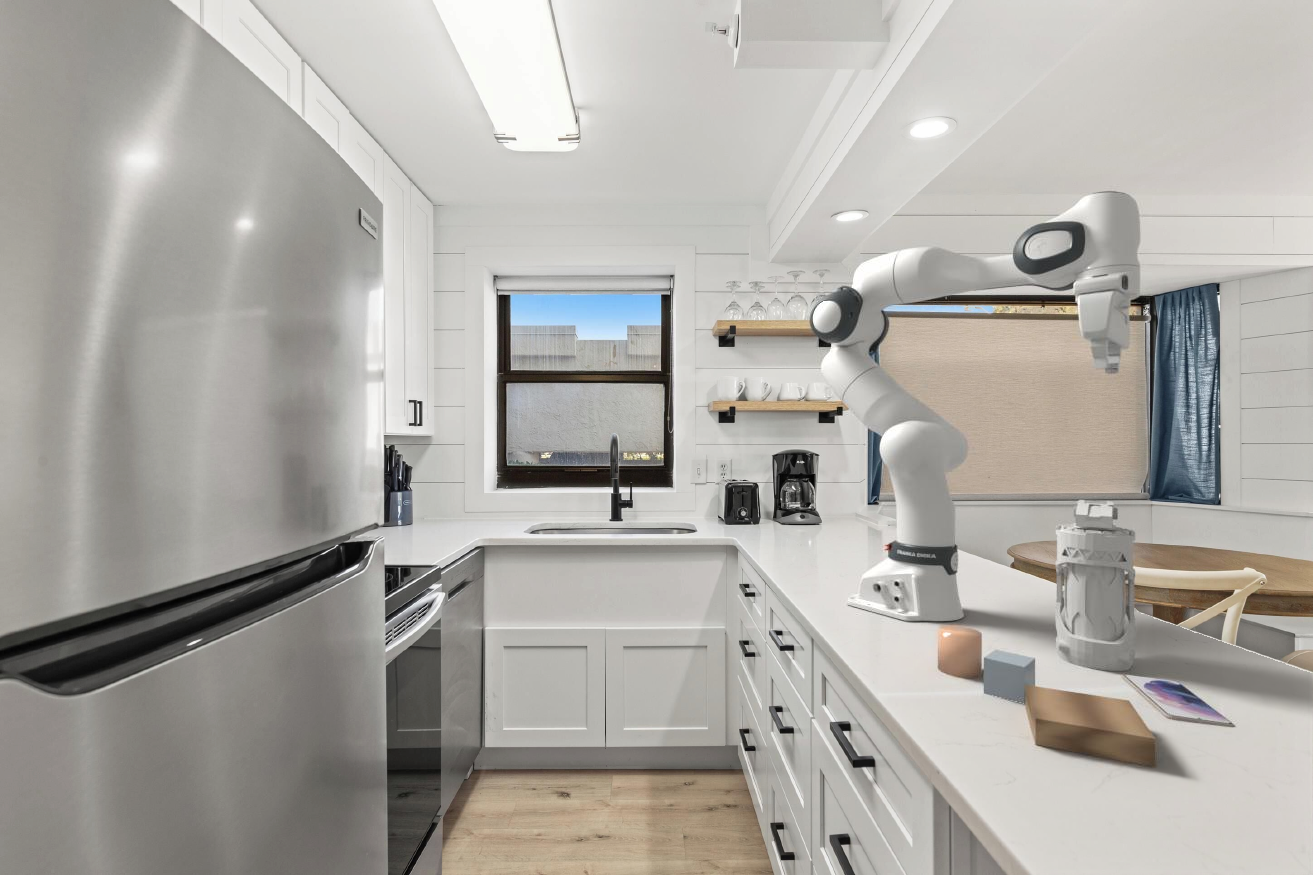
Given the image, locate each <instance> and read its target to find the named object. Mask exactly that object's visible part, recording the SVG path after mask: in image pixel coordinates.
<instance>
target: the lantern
mask: <svg viewBox="0 0 1313 875" xmlns="http://www.w3.org/2000/svg"><path fill="white" fill-rule="evenodd" d="M1090 502H1093V500H1090V499H1089V500H1088V499H1087V500H1086V499H1079V500H1078V501H1077V502H1076V505H1074V507H1073V516H1074V518H1075V522H1074V523H1069V524H1067V523H1066V524H1058V525H1056V526H1055V535H1056V560H1055V569H1056V571H1055V572H1056V573H1055V574H1056V604H1055V629H1056V633H1057V636H1056V637H1055V646H1056V651H1057V654H1058V656H1059V658H1061V659H1062V660H1064V661H1066V662H1068V663H1071V664H1073V665H1077V666H1080V667H1084V668H1089V669H1093V670H1099V671H1107V672H1108V671H1109V672H1123V671H1129V670H1130V669H1132V666H1133V663H1134V661H1135V657H1136V656H1135V654H1136V650H1135V649H1134V648H1133V644H1134V641H1135V635H1136V614H1135V578H1136V570H1135V569H1134V541H1136V532H1135V530H1132V529H1128V528H1123V527H1117V526H1116V525H1114V524H1113V523H1114V522H1113V520H1118V519H1119V517H1118V515H1119V514H1118V513H1119V512H1118V511H1119V509H1118V507H1115V503H1114V501H1108V500H1105V501H1104V500H1096V502H1102V503H1090ZM1126 572H1127V573H1126ZM1063 574H1064V577H1063ZM1063 579H1064V580H1063ZM1126 581H1127V582H1128V583H1127V584H1126ZM1063 582H1064V588H1063ZM1126 585H1127V587H1126ZM1126 589H1127V591H1126ZM1126 592H1127V594H1126ZM1126 595H1127V596H1126ZM1063 609H1064V622H1063V619H1062V617H1061V615H1062V611H1063ZM1126 617H1127V620H1128V623H1129V625H1128V628H1127V629H1126V632H1125V623H1126Z"/></svg>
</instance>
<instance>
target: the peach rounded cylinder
mask: <svg viewBox="0 0 1313 875" xmlns="http://www.w3.org/2000/svg"><path fill="white" fill-rule="evenodd" d="M982 645H983V634H982V632H981V631H979V630H977V629H974V628H971V627H968V626H967V627H966V626H961V625H940V626H939V627H938V628H937V669H938V671H939V672H941V673H943V674H945V675H948V676H951V677H956V678H961V679H962V678H963V679H977V678H980V677H982V674H983V671H982V669H983V661H982V660H983V650H982V649H983V648H982V647H983V646H982Z"/></svg>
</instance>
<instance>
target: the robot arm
mask: <svg viewBox="0 0 1313 875" xmlns="http://www.w3.org/2000/svg"><path fill="white" fill-rule="evenodd" d="M1140 245H1141V218H1140V212H1139V206H1138V204H1137V201H1136V199H1135V198H1133V197H1132V196H1131V195H1130V194H1128V193H1125V192H1121V191H1112V190H1110V191H1109V190H1108V191H1107V190H1106V191H1105V190H1104V191H1099V192H1098V191H1097V192H1093V193H1091V194H1088V195H1085V196H1083V197H1082V198H1081V199H1080V200H1079V201H1078V202H1077V203H1075V205H1073V206H1072V207H1071V208H1069V209H1068V210H1066V211H1064V212H1063V213H1061V214H1060V215H1057V216H1055V217H1053V218H1051V219H1049V220H1047V221H1045V222H1041V223H1038V224H1034V225H1032V226H1031V227H1029V228H1027V229H1026V230H1025V231H1024V232H1023V233H1021V235H1020V236H1019V237H1018V238H1017V240H1016V241H1015V244H1014V247H1013V250H1012V254H1004V255H998V256H990V257H989V256H988V257H975V256H968V255H964V254H960V253H957V252H954V251H951V250H948V249H945V248H941V247H938V246H937V247H936V246H919V247H911V248H910V247H909V248H906V249H905V248H904V249H901V250H896V251H892V252H888V253H885V254H882V255H879V256H877V257H876V256H875V257H874V258H871V259H869V260H866V261H864V262H862V263H861V264H860V265H859V266H858V267H857V268H856V270H855V271H854V275H853V278H852V279H853V280H852V285H851V286H848V285H842V286H839V287H838V288H836V289H835V290H834V291H833V292H831V293H829V294H827V295H825V296H823V297H822V298H821V299H819V300H818V301H817V302H816V303H815V304H814V306H813V307H812V309H811V311H810V313H809V314H810V315H809V326H810V328H811V331H812V332H813V333H814V335H815V336H816V337H817V338H819V339H820V340H821V341H823V342H825V343H827V344H831V346H830V350H829V352H828V353H827V354H826V355H824V358H823V359H822V361H821V366H820V371H821V375H822V377H823V378H824V380H825V382H826V384H828V386H829V388H830V389H831V390H832V391H833V393H834V394H835V395H836V397H837V398H839V400H840V401H841V402H842V404H844V405H845V406H846V407H847V409H849V410H850V411H851V413H852V414H853V415H855V417H856V418H857V419H858V420H859V421H860V422H861V423H862V424H863V425H864V426H865V427H866V428H868V430H870V431H872V432H874V433H875V434H877V435H879V436H881V439H880V442H879V455H880V457H881V460H882V461H883V463H884V464H885V466H886V467H887V469H888V473H889V476H890V480H891V484H892V489H893V492H894V500H895V508H896V512H895V513H896V518H895V519H896V520H895V521H896V528H895V529H896V532H895V533H896V539H895V540H894V541H891V542H889V543H888V544H885V545H884V547H885V548H884V551H887V553H888V554H887V557H886V558H884V559H883V560H882V561H880V562H879V563H877V564H876V565H874V566H872V567H871V568H870V569H869V570H867V571H865V572H864V573H863V574H862V575H861V578H860V582H859V584H858V589H857V591H858V592H856V593H853V594H852V595H849V596H848V598H847V599H846V603H847V606H851V607H855V608H858V609H861V610H865V611H869V612H873V613H876V614H880V615H883V616H887V617H891V618H895V619H898V620H901V621H905V622H906V621H907V622H919V621H920V622H921V621H926V622H930V621H931V622H948V621H949V622H950V621H958V620H961V619H962V618H964V617H965V614H964V611H963V608H962V603H961V599H960V594H959V587H958V580H957V573H958V568H959V553H958V552H959V551H958V545H957V544H956V504H955V502H954V501H953V498H952V497H951V493H950V490H949V486H948V481H947V475H946V474H947V473H950V472H952V471H954V470H955V469H957V468H958V467H959V466H961V465H962V464H963V463H964V462H965V461H966V459H967V457H968V455H969V449H970V448H969V441H968V440H967V438H966V436H965V434H964V433H963V432H961V430H960V429H958V428H957V427H954V425H952V424H951V423H949V422H948V421H947V420H946V419H945V418H943V417H942V416H941V415H939V414H938V413H937V412H936V411H934V410H933V409H931V408H930V407H929V406H928V405H927V404H925V403H923V402H921V401H920V400H919V399H917V398H916V397H915V396H914V395H912V394H911V393H910V392H908V391H907V390H906V389H904V388H903V386H902V385H901V384H900V383H898V382H897V381H896V380H895V379H894V377H892V376H891V375H890V374H889V373H888V372H887V371H886V370H884V369H883V367H881V366H880V365H879V364H878V363H877V362H876V361H875V360H874V359H873V358H872V355H874V354H875V353H877V350H878V348H879V346H880V345H881V344H882V343H883V341H884V340H885V339H886V337H887V334H888V332H889V330H890V320H889V316H888V314H887V313H886V311H885V309H886V308H888V307H891V306H894V305H903V304H912V303H918V302H923V301H928V300H932V299H933V300H934V299H938V298H942V297H946V296H952V295H958V294H962V293H967V292H973V291H975V292H976V291H984V290H992V289H1005V288H1013V287H1016V288H1017V287H1024V286H1027V287H1028V286H1032V287H1033V286H1034V287H1038V288H1041V289H1046V290H1049V291H1053V292H1065V291H1069V290H1072V289H1073V290H1072V292H1073V295H1074V296H1075V303H1076V304H1077V312H1078V313H1077V314H1078V323H1079V330H1080V334H1081V337H1082V338H1083V339H1084V340H1087V341H1088V342H1090V350H1091V354H1092V360H1093V361H1092V362H1093V363H1092V366H1093V368H1094V369H1095V370H1104V372H1105V373H1106V374H1108V375H1118V374H1119V373H1120V363H1121V358H1122V350H1128V349H1129V348H1130V344H1131V330H1130V329H1131V328H1130V327H1131V323H1130V311H1129V309H1130V308H1131V301H1132V300H1135V299H1137V298H1139V297H1140V296H1141V264H1140V261H1139V257H1138V251H1139V248H1140Z"/></svg>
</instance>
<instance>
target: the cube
mask: <svg viewBox="0 0 1313 875" xmlns="http://www.w3.org/2000/svg"><path fill="white" fill-rule="evenodd" d="M1025 685H1030V686H1036V657H1031V656H1027V655H1022V654H1018V653H1012V652H1008V651H1006V650H1005V651H1004V650H1000V649H994V650H993V651H991V652H990V653H988V654H987V655H986V656H984V657H983V694H984V695H988V696H992V695H993V696H992V697H995V696H997V697H996V698H999V697H1001V698H1000V699H1003V698H1005V699H1004V700H1006V699H1008V701H1010V700H1013V701H1012V702H1014V701H1017V702H1021V703H1024V704H1023V705H1025ZM1017 702H1016V703H1017ZM1021 703H1020V704H1021Z"/></svg>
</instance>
